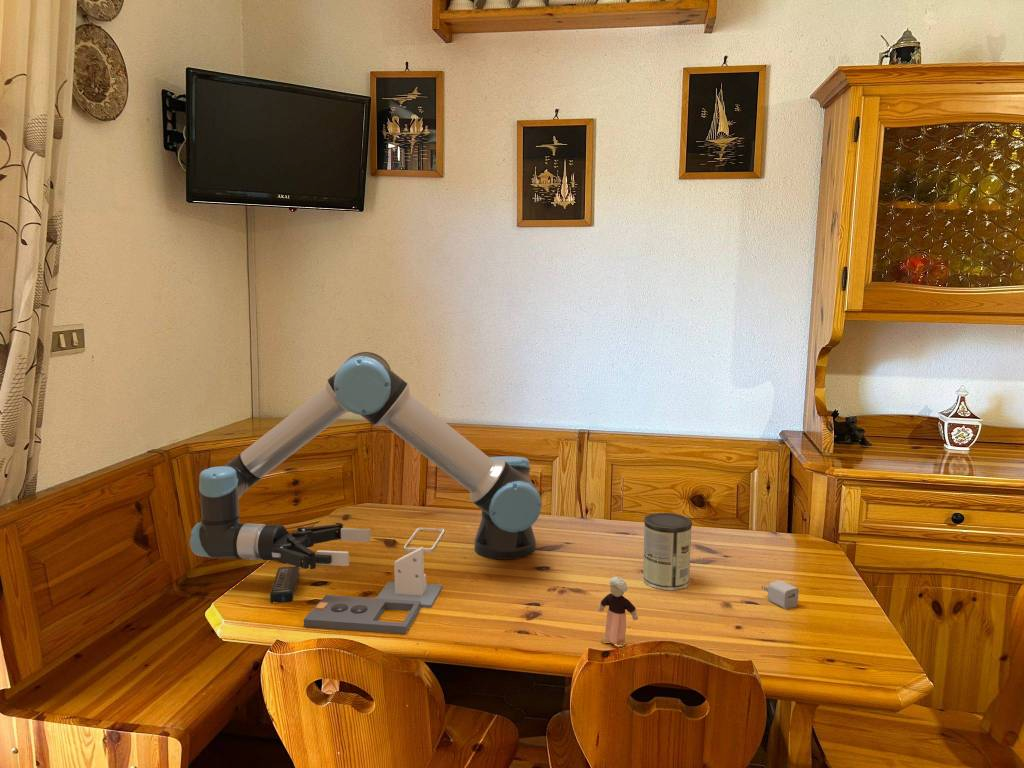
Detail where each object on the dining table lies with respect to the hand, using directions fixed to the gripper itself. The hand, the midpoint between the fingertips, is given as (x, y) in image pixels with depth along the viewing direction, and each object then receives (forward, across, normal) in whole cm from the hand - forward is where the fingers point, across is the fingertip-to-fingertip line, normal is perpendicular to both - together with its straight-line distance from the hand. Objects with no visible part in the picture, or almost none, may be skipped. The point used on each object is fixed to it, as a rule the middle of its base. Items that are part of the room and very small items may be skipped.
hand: (359, 546), depth 153 cm
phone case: (+6, -31, -11) cm, 33 cm away
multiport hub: (-16, +1, -10) cm, 19 cm away
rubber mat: (+11, +1, -10) cm, 15 cm away
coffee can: (+65, -15, -11) cm, 67 cm away
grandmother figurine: (+54, +15, -10) cm, 57 cm away
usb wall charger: (+87, -8, -11) cm, 88 cm away
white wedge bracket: (+11, 0, -10) cm, 14 cm away
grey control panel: (+5, +12, -10) cm, 16 cm away
